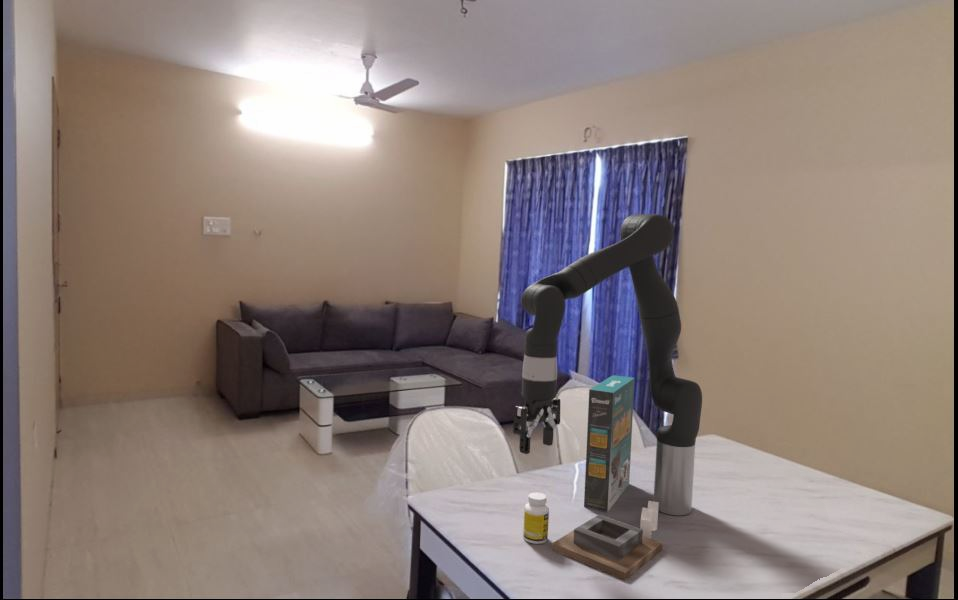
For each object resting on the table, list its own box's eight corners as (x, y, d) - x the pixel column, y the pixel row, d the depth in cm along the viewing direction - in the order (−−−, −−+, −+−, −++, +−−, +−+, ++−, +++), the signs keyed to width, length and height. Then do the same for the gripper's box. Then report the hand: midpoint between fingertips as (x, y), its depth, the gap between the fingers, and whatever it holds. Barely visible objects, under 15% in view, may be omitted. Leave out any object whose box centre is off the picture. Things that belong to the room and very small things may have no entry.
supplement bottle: (546, 546, 128) (548, 502, 127) (521, 543, 129) (523, 499, 128) (548, 534, 133) (550, 492, 132) (524, 531, 134) (526, 489, 133)
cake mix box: (607, 479, 168) (613, 375, 166) (629, 483, 165) (634, 377, 163) (583, 506, 149) (589, 389, 147) (607, 512, 146) (613, 392, 144)
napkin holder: (648, 551, 128) (649, 525, 127) (610, 529, 137) (611, 506, 137) (692, 535, 136) (694, 511, 136) (653, 516, 146) (655, 493, 145)
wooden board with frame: (593, 524, 139) (594, 505, 138) (662, 549, 128) (663, 529, 127) (552, 549, 126) (553, 529, 126) (624, 580, 115) (626, 558, 115)
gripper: (534, 383, 121) (530, 460, 122) (572, 374, 132) (568, 445, 133) (505, 377, 126) (502, 451, 127) (544, 369, 137) (541, 438, 138)
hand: (536, 448), depth 130 cm, fingers open, 8 cm apart
